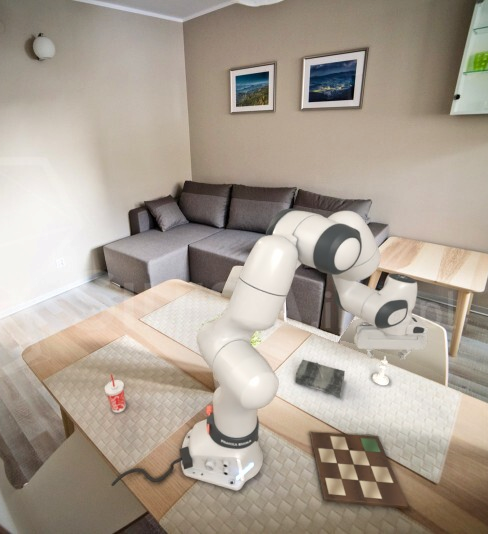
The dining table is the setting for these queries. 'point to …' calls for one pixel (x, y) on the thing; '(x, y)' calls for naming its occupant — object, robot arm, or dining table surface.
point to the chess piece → (381, 374)
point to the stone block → (320, 377)
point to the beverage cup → (116, 395)
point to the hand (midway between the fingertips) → (385, 357)
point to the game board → (355, 470)
